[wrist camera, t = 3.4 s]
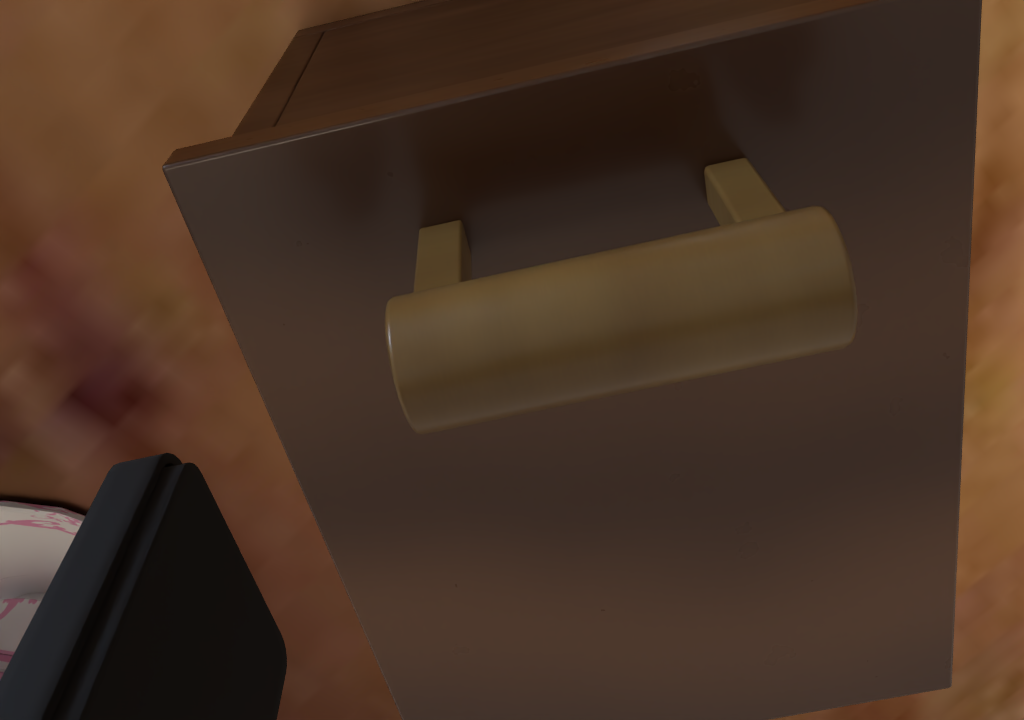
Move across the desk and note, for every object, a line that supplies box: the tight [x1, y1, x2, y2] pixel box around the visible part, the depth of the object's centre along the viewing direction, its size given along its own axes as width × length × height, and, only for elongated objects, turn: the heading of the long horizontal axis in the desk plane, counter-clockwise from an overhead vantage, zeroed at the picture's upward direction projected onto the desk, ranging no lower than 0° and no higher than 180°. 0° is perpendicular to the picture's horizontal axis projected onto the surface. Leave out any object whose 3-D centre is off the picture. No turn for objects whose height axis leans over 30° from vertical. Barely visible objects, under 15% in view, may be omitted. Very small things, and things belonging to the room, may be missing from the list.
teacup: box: [0, 501, 85, 679], centre depth 33 cm, size 12×12×6 cm
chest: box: [232, 0, 816, 136], centre depth 24 cm, size 15×12×11 cm
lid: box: [163, 0, 982, 720], centre depth 16 cm, size 16×12×5 cm
